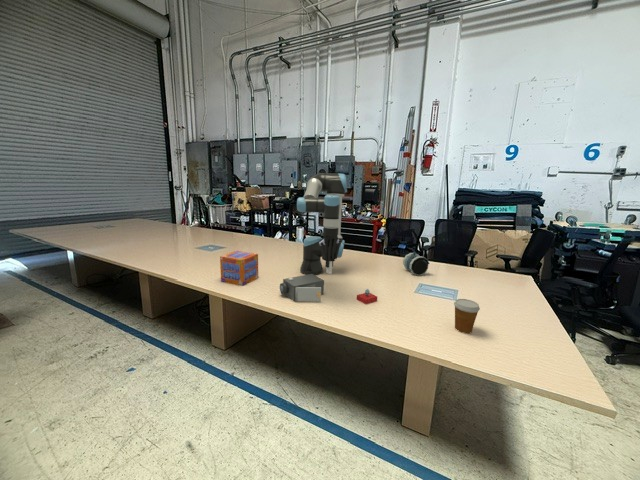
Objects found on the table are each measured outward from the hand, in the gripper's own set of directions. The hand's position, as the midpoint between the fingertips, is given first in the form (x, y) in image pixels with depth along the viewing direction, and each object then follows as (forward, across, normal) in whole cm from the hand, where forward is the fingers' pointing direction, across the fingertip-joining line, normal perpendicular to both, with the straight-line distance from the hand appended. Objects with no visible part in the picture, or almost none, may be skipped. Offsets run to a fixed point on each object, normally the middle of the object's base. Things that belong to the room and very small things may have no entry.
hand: (329, 273), depth 142 cm
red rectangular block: (+14, -16, +12) cm, 25 cm away
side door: (+13, +11, -2) cm, 17 cm away
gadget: (+13, -77, -6) cm, 79 cm away
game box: (+14, +30, -49) cm, 59 cm away
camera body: (+14, +9, -12) cm, 20 cm away
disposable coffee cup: (+14, -31, +54) cm, 64 cm away
